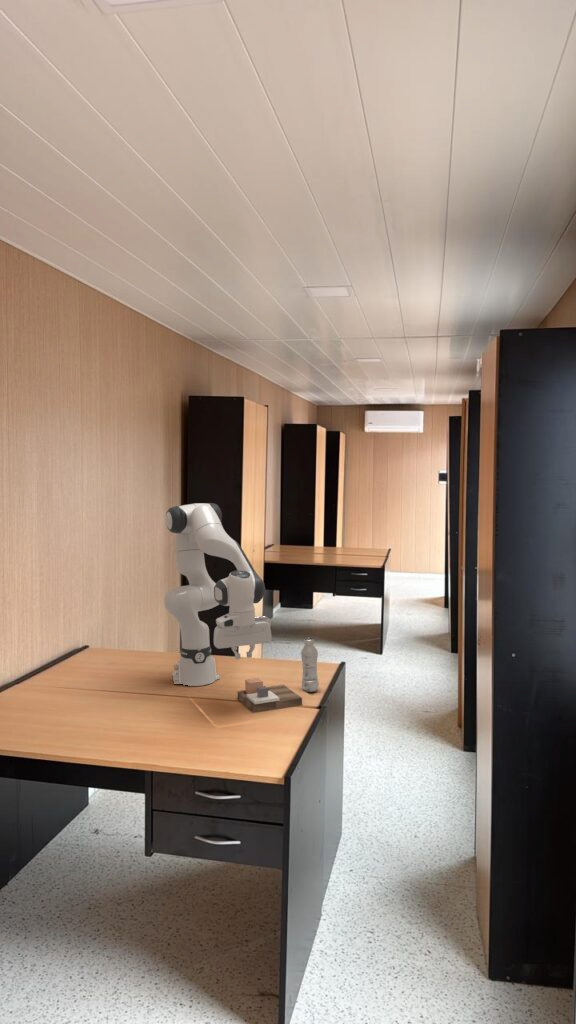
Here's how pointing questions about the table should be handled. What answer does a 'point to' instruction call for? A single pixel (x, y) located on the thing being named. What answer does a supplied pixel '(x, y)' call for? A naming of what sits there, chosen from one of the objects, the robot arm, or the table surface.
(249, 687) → the block
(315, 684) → the plastic bottle
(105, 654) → the table surface
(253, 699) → the lid
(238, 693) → the board
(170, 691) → the table surface
